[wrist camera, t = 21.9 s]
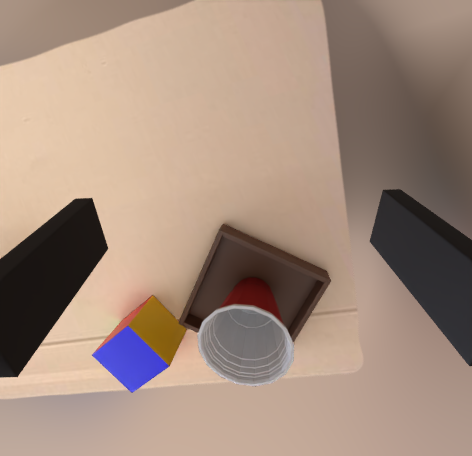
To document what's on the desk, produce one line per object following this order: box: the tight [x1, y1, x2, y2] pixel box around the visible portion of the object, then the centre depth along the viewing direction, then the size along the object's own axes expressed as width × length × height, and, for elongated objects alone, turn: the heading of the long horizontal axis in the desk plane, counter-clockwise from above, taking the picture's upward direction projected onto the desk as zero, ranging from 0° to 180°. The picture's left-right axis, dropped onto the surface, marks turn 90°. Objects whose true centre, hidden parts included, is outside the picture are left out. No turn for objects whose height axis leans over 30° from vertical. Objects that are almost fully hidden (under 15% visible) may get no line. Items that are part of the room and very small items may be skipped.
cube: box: [92, 295, 187, 392], centre depth 42 cm, size 8×8×8 cm
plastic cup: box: [197, 277, 294, 386], centre depth 35 cm, size 11×11×12 cm
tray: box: [178, 224, 331, 342], centre depth 40 cm, size 16×16×3 cm
